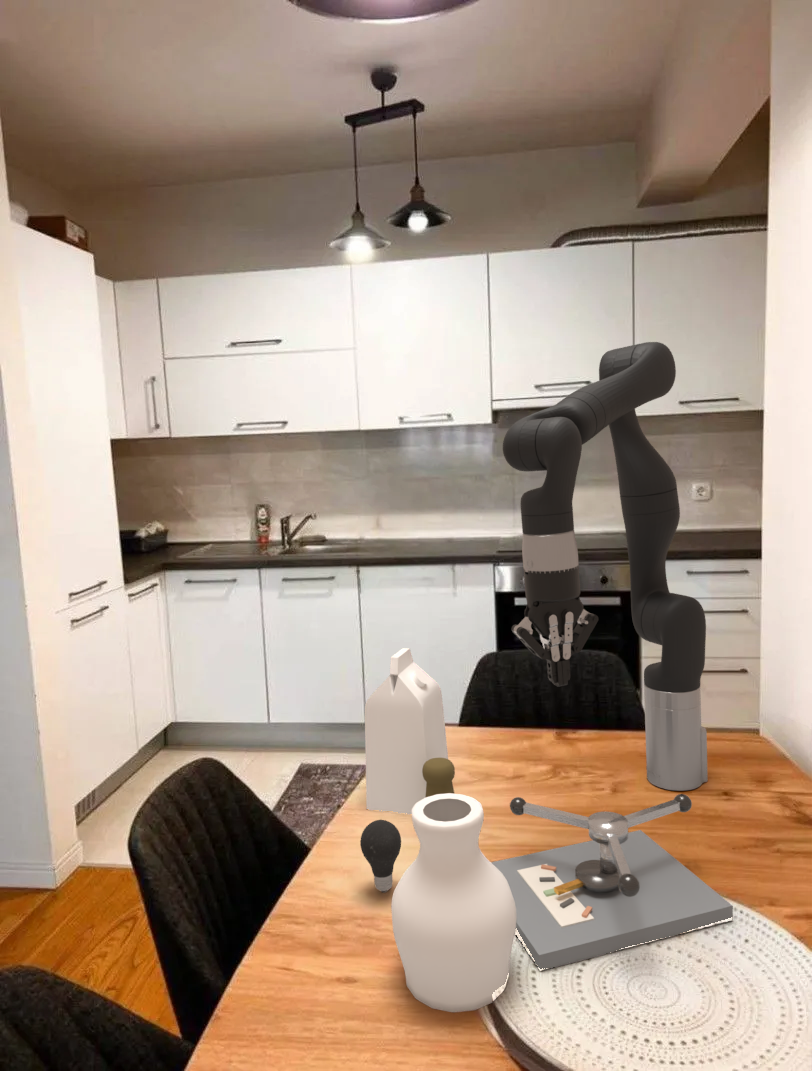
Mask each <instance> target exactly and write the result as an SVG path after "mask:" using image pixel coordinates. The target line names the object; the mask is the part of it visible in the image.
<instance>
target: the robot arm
mask: <svg viewBox="0 0 812 1071" xmlns="http://www.w3.org/2000/svg"><path fill="white" fill-rule="evenodd" d="M674 358H675V357H674V355H673V352H672V351H671V349H670V348H669V347H668V346H667V345H666V344H664V343H662V342H660V341H647V342H642V343H637V344H631V345H628V346H623V347H619V348H618V347H617V348H613V349H611V350H610V349H609V350H608V351H607V350H606V352H605V353H604V354H603V355H602V356H601V359H600V361H599V365H598V366H599V368H598V379H599V380H597V381H594V382H592V383H589V384H587V385H584V386H582V387H580V388H578V389H577V390H575V391H573V392H572V393H570V394H568V395H567V396H566V397H564V398H563V399H561V400H560V401H558V402H557V403H556V404H554V405H551V406H550V407H547V408H545V409H541V410H539V411H536V412H533V413H531V414H528V415H527V416H523V418H520V419H518V420H516V422H514V423H513V424H512V425H511V426H510V427H509V428H508V430H507V432H505V435H504V437H503V440H502V454H503V457H504V460H505V461H506V462H507V464H508V465H510V467H512V468H513V469H515V470H516V471H519V472H525V473H526V472H540V471H541V472H542V471H543V472H546V475H545V478H544V482H543V483H542V486H539V487H536V488H533V489H530V490H527V491H526V492H524V493H522V496H521V497H520V516H521V517H520V518H521V529H522V545H521V549H522V553H521V554H522V563H523V564H522V566H523V576H524V578H523V579H524V590H525V598H526V608H525V609H524V618H523V619H521V621H520V622H519V623H518V624H513V625H512V626H511V631H512V633H513V634H514V635H515V636H516V638H518V639H519V640H520V641H521V643H522V644H523V645H524V646H525V647H526V648H527V649H528V651H530V652H531V653H532V654H533V655H534V656H536V657H538V658H540V659H541V660H546V670H547V678H548V681H550V682H551V683H552V684H553V685H554V686H556V687H562V686H567V685H569V681H570V680H571V665H570V663H571V662H570V659H571V657H572V655H574V654H578V653H580V652H582V650H583V648H584V647H585V644H586V643H587V642H588V640H589V637H590V636H591V633H592V632H593V631H594V629H595V627H596V625H597V623H598V622H599V616H598V615H597V614H594V613H591V612H589V611H587V610H586V609H585V608H584V604H583V602H582V600H581V598H580V595H581V582H580V569H579V568H580V566H579V552H578V543H577V539H576V534H575V522H574V510H573V508H574V507H573V499H574V493H575V489H576V488H575V486H576V480H577V475H578V471H579V470H578V469H579V466H580V461H581V456H582V451H583V450H582V448H583V445H585V444H586V443H588V442H589V441H590V440H592V439H593V438H594V437H596V436H597V435H598V434H599V433H600V432H601V431H603V430H605V428H607V427H608V428H609V432H610V435H611V439H612V440H611V441H612V447H613V452H614V458H615V466H616V472H617V480H618V489H619V491H618V492H619V498H620V505H621V512H622V518H623V523H624V531H625V537H626V538H625V539H626V546H627V554H628V555H627V556H628V562H629V563H628V564H629V577H630V608H631V609H630V610H631V618H632V623H633V626H634V627H633V628H634V629H635V632H636V633H637V635H638V636H639V637H640V638H641V639H643V640H645V641H647V642H649V643H652V644H656V645H659V646H661V658H660V661H658V662H654V663H650V664H649V665H647V666H646V667H645V668H644V670H643V688H644V690H643V691H644V692H643V693H644V694H643V697H644V720H645V721H644V723H645V724H644V725H645V755H646V756H645V757H646V779H647V780H648V782H649V783H650V784H652V785H653V786H655V787H657V788H661V789H665V790H669V791H678V792H680V791H682V792H683V791H691V790H695V789H697V788H699V787H700V786H701V785H702V784H703V783H707V782H708V738H707V736H708V734H707V728H706V727H704V726H702V702H701V678H702V674H703V672H704V668H705V664H706V663H705V662H706V637H707V636H706V635H707V621H706V615H705V611H704V608H703V606H702V604H701V602H699V601H698V600H697V599H696V598H694V597H692V596H689V595H684V594H679V593H674V592H670V590H669V585H668V580H667V571H666V564H667V563H666V561H667V555H668V551H669V549H670V546H671V544H672V542H673V539H674V537H675V534H676V532H677V530H678V526H679V523H680V518H681V510H680V509H681V508H680V502H679V501H680V500H679V494H678V492H679V491H678V486H677V485H678V484H677V480H676V476H675V474H674V472H673V471H672V469H671V467H670V466H669V465H668V463H667V462H666V460H665V459H664V457H662V455H661V454H660V453H659V452H658V450H656V449H655V447H654V446H653V444H652V443H651V442H650V441H649V439H647V437H646V435H645V433H644V432H643V430H642V427H641V425H640V422H639V420H638V417H637V416H638V415H637V413H636V409H637V408H639V407H640V406H642V405H645V404H647V403H649V402H651V401H655V400H656V399H659V398H662V397H664V396H666V395H667V394H668V393H669V392H670V391H671V390H672V388H673V386H674V383H675V381H676V374H677V370H676V361H675V359H674ZM532 627H533V628H534V629H535V631H536V632H537V633H538V635H539V640H540V642H541V643H542V645H541V643H539V642H538V641H537V639H536V638H535V637H534V636H533V632H534V630H533V629H532Z"/></svg>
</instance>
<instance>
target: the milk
mask: <svg viewBox="0 0 812 1071" xmlns="http://www.w3.org/2000/svg"><path fill="white" fill-rule="evenodd" d="M389 667H390V668H389V669H390V670H389V676H388V677H386V679H385V680H384V681H383V682H382V683H381V684H380V685H379V686H378V687H377V688H376V689H375V691H373V693H372V694H371V695H370V696H369V697H368V698H367V700H366V702H365V705H364V732H365V733H364V734H365V735H364V737H365V740H364V742H365V745H364V746H365V791H366V792H365V794H366V798H365V799H366V801H365V802H366V810H367V809H369V810H368V811H373V810H379V811H378V812H383V811H393V812H398V813H397V814H401V813H405V814H404V815H410V814H412V808H413V807H414V805H415V804H416V803H417V802H419V801H420V800H422V799H424V798H425V797H426V783H427V782H426V781H425V780H424V778H423V773H422V769H423V765H424V763H425V762H426V761H428V760H429V759H432V758H446V759H448V760H449V752H448V743H447V734H446V732H447V731H446V724H445V721H446V720H445V714H444V713H445V712H444V704H443V693H442V689H441V686H440V684H439V683H438V682H437V681H436V680H435V679H434V678H433V677H432V676H430V675H429V674H428V673H427V672H426V671H425V670H424V669H423V668H421V667H420V666H419V665H418V664H417V663H416V662H415V661H414V659H413V655H412V651H411V648H409V647H407V648H406V647H403V648H401V649H400V650H398V651H397V652H395V654H393V655H392V656H390V666H389ZM381 810H382V811H381ZM406 813H407V814H406Z"/></svg>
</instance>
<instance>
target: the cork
mask: <svg viewBox="0 0 812 1071" xmlns="http://www.w3.org/2000/svg"><path fill="white" fill-rule="evenodd" d="M455 770H456V768H455V765H454V763H453V762H452V761H451V760H450V759H449V758H448V759H446V758H432V759H429V760H428V761H426V762H425V763H424V765H423V769H422V773H423V778H424V780H425V781H426V782H427V783H426V797H429V796H433V795H436V794H447V793H453V794H455V790H454V784H453V780H454V778H455V773H456V771H455ZM426 797H425V798H426Z"/></svg>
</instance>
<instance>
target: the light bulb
mask: <svg viewBox="0 0 812 1071" xmlns="http://www.w3.org/2000/svg"><path fill="white" fill-rule="evenodd" d="M359 842H360V849H361V850H360V851H361V852H362V854H363V857H364V858H365V859H366V861H367V862H368V864H369V865H370V868H371V872H372V875H373V877H374V878H373V881H374V886H375V889H376V890H378V891H380V892H381V893H385V894H386V893H387V892H389V890H390V889H391V888H392V887H393V880H394V879H393V872H394V865H395V862H396V860H397V858H398V857H399V854H400V851H401V847H402V837H401V834H400V831H399V829H398V828H397V827H396V826H395V824H394V823H392V822H390V821H388V820H386V819H376V820H373V821H372V822H369V824H367V825H366V827H365V828H364V829H363V830H362V833H361V836H360V841H359Z"/></svg>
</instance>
